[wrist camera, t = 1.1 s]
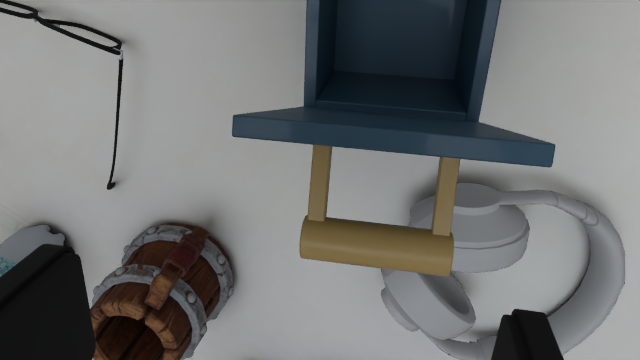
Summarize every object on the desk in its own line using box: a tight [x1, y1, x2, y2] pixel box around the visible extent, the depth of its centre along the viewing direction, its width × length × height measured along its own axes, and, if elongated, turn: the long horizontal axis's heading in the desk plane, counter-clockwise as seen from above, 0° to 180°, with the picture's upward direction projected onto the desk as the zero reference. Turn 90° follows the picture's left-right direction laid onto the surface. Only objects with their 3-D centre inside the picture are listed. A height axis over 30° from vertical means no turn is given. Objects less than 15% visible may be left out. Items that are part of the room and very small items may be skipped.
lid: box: [232, 107, 555, 276], centre depth 25 cm, size 14×11×6 cm
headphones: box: [381, 183, 625, 360], centre depth 43 cm, size 18×8×20 cm
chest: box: [304, 0, 501, 122], centre depth 33 cm, size 14×11×10 cm
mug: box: [90, 223, 233, 360], centre depth 45 cm, size 12×14×15 cm
